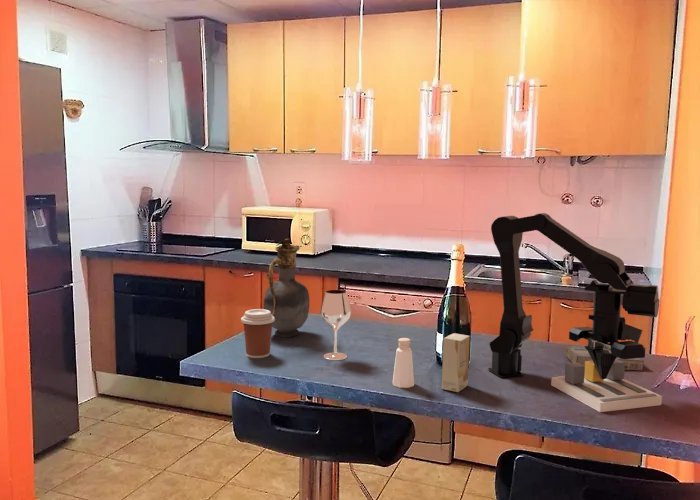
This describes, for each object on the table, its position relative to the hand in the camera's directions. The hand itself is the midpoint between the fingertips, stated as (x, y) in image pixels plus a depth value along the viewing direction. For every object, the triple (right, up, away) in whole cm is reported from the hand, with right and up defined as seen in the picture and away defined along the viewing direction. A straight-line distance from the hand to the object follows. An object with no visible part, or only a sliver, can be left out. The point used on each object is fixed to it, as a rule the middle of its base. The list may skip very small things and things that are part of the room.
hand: (603, 378), depth 136 cm
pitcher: (-78, +3, +47) cm, 91 cm away
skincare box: (-33, -3, +4) cm, 34 cm away
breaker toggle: (-1, -1, +3) cm, 3 cm away
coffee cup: (-83, +1, +27) cm, 87 cm away
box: (+10, -2, +24) cm, 26 cm away
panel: (0, -4, 0) cm, 4 cm away
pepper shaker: (-45, -3, +5) cm, 46 cm away
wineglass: (-62, 0, +26) cm, 67 cm away
